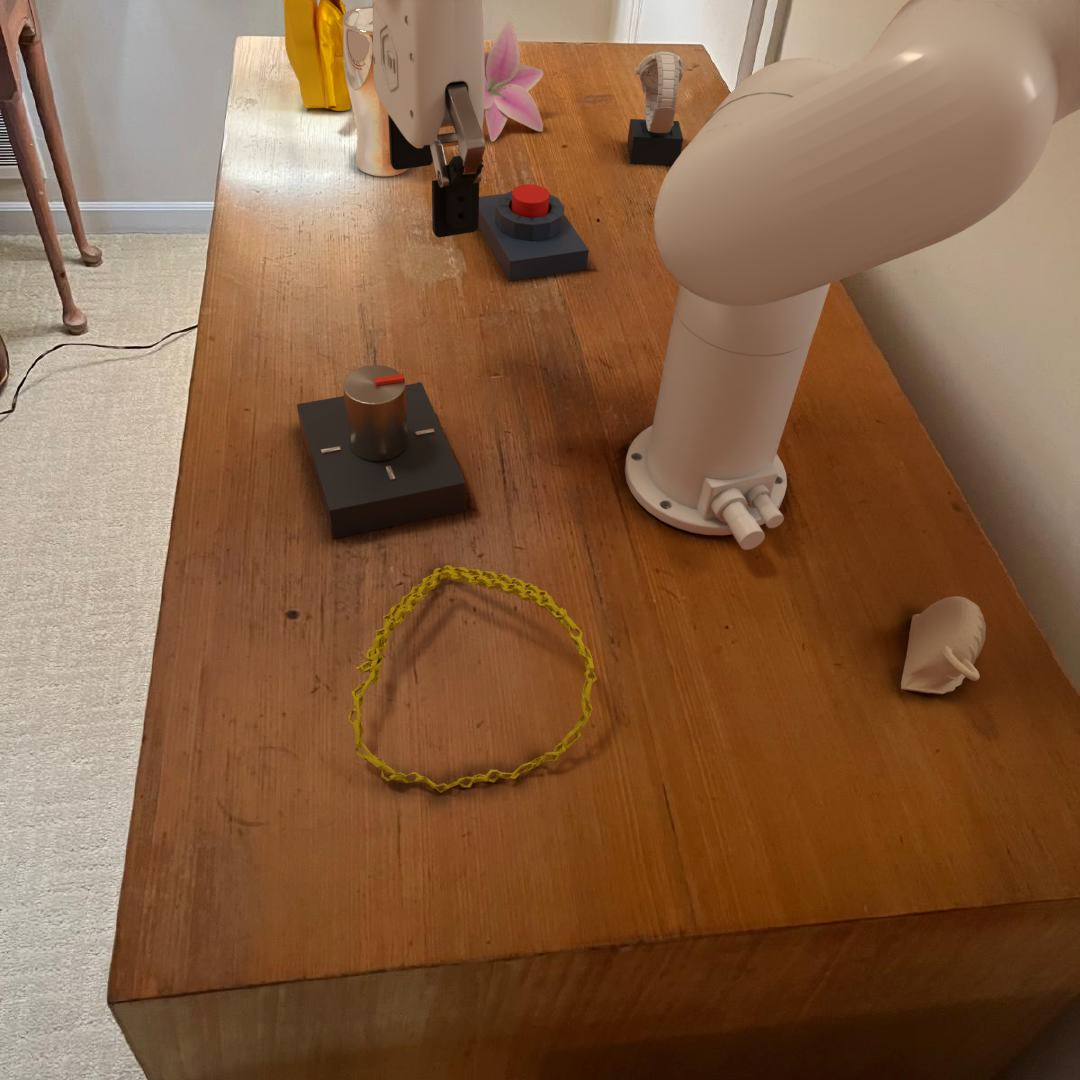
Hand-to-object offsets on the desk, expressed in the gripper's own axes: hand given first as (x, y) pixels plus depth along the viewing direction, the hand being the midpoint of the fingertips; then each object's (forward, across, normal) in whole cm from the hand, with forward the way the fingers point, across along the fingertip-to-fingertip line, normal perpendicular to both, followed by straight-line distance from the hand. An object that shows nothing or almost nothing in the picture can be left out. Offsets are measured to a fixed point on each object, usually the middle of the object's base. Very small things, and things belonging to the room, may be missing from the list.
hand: (432, 198), depth 74 cm
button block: (+17, -18, +16) cm, 29 cm away
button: (+13, -18, +16) cm, 27 cm away
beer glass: (+17, -38, +7) cm, 42 cm away
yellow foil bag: (+17, -54, +5) cm, 57 cm away
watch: (+17, -31, +36) cm, 51 cm away
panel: (+17, +9, -8) cm, 21 cm away
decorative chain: (+17, +29, -8) cm, 35 cm away
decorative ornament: (+17, +39, +22) cm, 48 cm away
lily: (+17, -43, +22) cm, 51 cm away
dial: (+14, +9, -8) cm, 18 cm away
